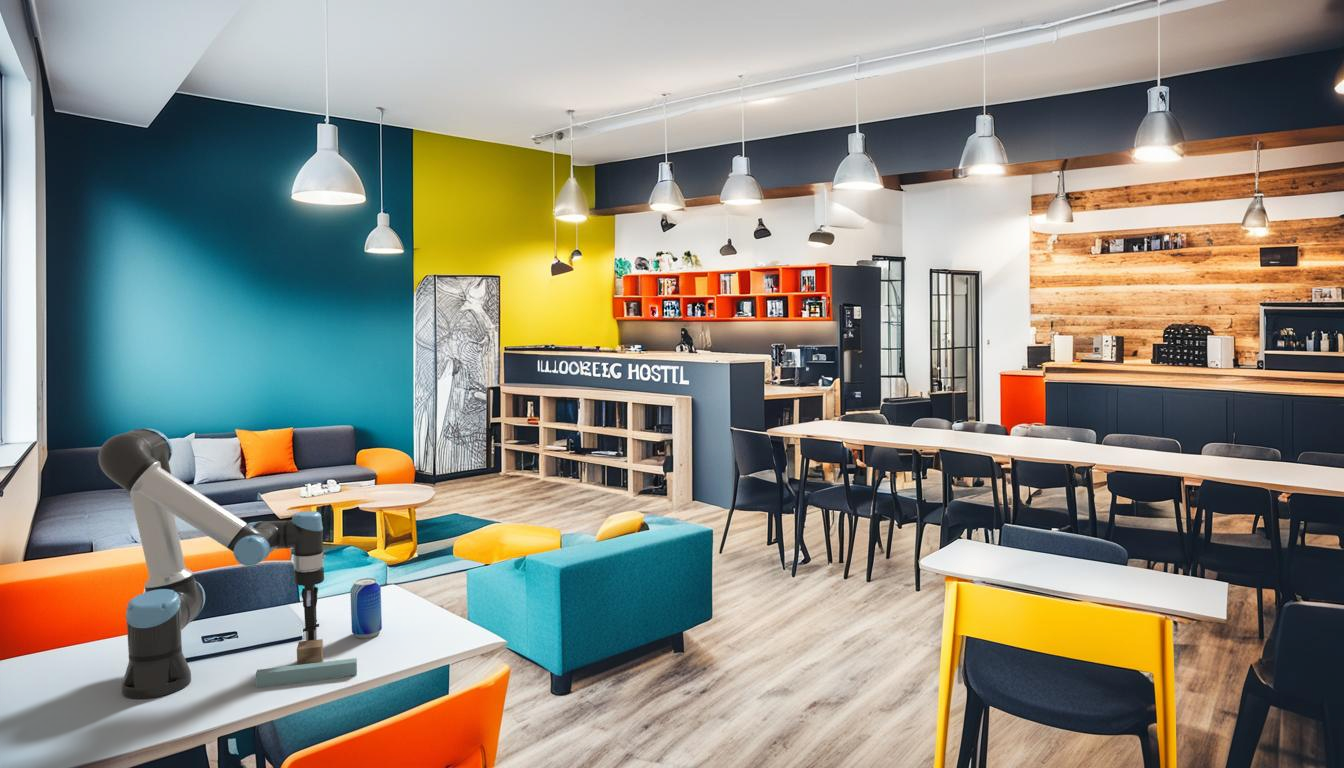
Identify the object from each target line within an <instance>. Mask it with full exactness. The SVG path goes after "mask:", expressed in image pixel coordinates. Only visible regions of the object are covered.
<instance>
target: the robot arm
mask: <svg viewBox="0 0 1344 768" xmlns="http://www.w3.org/2000/svg"><path fill="white" fill-rule="evenodd" d="M172 455H173V445H172V443H171V441H170V439H169V438H168V437H167V436H166V435H165V434H164V433H163V432H161V431H159V430H157V429H154V428H136V429H132V430H130V431H127V432H124V433H119V434H116V435H114V436H112V437H110V438H109V439H107V440H106V441H105V442H104V443H103V444H102V446H101V447H100V450H99V452H98V456H97V457H98V464H99V467H100V469H101V471H102V472H103V473H104V475H105V476H107V478H109V479H110V480H111V481H113V483H115V484H116V485H118V486H120V487H121V488H122V489H125V490H126V491H128V492H129V494H130V498H131V499H130V500H131V502H132V507H133V513H134V516H135V521H136V525H137V529H138V533H139V538H140V542H141V546H142V550H143V555H144V559H145V565H146V568H147V573H148V575H149V576H148V579H147V580H146V582H145V583H144V589H145V592H144V593H139V594H138V595H136V596H134V597H133V598H131V599H130V600H129V601H128V603H127V605H126V611H125V620H126V631H127V649H128V650H127V651H128V663H127V667H126V671H125V673H124V677H123V679H122V683H121V689H122V690H121V693H122V695H123V696H124V697H126V698H130V699H151V698H157V697H162V696H166V695H169V694H172V693H176V692H177V691H180V690H182V689H185V687H187V686H188V685H189V684H190V683H191V682H192V673H191V669H190V667H189V665H188V663H187V660H186V658H185V656H184V653H183V649H182V648H183V647H182V646H183V645H182V644H183V643H182V630H184V628H186V627H187V626H188V625H189V624H190V623H192V622H193V621H194V620H196V619H197V617H198V616H199V615H200V613H201V612H202V610H203V608H204V606H205V603H206V593H205V590H204V588H203V586H202V585H201V583H200V582H197V580H196V578H195V574H194V571H193V570H190V569H189V568H187V567H186V564H185V560H184V555H183V550H182V545H181V542H180V541H181V540H180V536H179V533H178V532H179V531H178V528H177V524H176V519H175V517H177V518H179V519H180V520H182V521H184V522H185V523H186V524H188V525H190V526H192V527H193V528H195V529H196V530H198V531H199V532H201V533H203V535H206V536H208V537H209V538H211V539H212V540H213V541H215V542H217V543H218V544H220V545H221V546H222V547H223V546H224V547H225V548H227V549H228V550H229V551H232V552H233V556H234V559H235V560H236V562H237V563H239V564H240V565H243V566H245V567H251V566H255V565H258V564H260V563H261V562H263V561H264V560H265V559H267V558H268V556H269V555H270V554H272V553H273V551H275V550H282V549H283V550H286V549H293V555H292V556H293V569H294V572H293V573H294V574H293V575H294V584H295V585H296V586H302V587H304V588H302V591H301V598H302V606H303V611H304V613H303V614H304V627H305V628H302V632H305V641H309V640H318V631H317V630H318V628H319V627H320V623H317V622H318V620H317V605H318V604H317V603H318V593H319V586H316V585H318V584H321V583H323V582H324V580H325V569H324V567H323V566H324V559H326V554H324V539H323V538H324V527H323V521H322V514H321V513H320V512H318V511H315V510H306V511H305V510H304V511H300V512H295V513H294V514H293V515H292V516H291V520H271V521H267V520H266V521H263V520H260V521H252V522H246V521H244V520H243V519H242V518H239V517H238V516H236V515H235V514H234V513H232V512H230V511H229V510H227V509H226V508H224V507H223V506H221V505H220V504H218V503H216V502H214V500H212V499H211V498H209V497H207V496H206V495H204V494H202V493H200V492H199V491H197V490H196V489H194V488H193V487H191V486H190V485H188V484H187V483H185V482H183V481H182V480H181V479H179V478H178V477H176V476H175V475H173V474H172V471H171V468H170V467H171V466H170V461H171V458H172Z"/></svg>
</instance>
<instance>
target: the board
mask: <svg viewBox="0 0 1344 768" xmlns="http://www.w3.org/2000/svg"><path fill="white" fill-rule="evenodd" d="M357 661H358V658H357V657H355V658H353V657H352V658H345V659H338V660H328V661H323V662H319V663H311V664H302V665H297V664H296V665H286V666H279V667H277V666H276V667H269V668H268V667H267V668H261V669H260V668H259V669H256V672H255V688H265V687H273V686H274V687H275V686H280V685H289V684H297V683H305V682H313V681H321V680H322V679H323V680H328V679H327V678H331V679H336V678H335V677H339V678H344V677H343V676H347V677H352V676H351V675H355V676H357V675H358V666H357V665H358V662H357Z"/></svg>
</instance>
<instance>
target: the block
mask: <svg viewBox="0 0 1344 768" xmlns="http://www.w3.org/2000/svg"><path fill="white" fill-rule="evenodd" d="M323 642H324V641H323V638H321V639H319V638H317V640H309V641H306V640H301V641H298V642H297V643H298V644H297V646H296V665H302V664H311V663H319V662H324V645H323V644H324V643H323Z"/></svg>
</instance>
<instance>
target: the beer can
mask: <svg viewBox="0 0 1344 768" xmlns="http://www.w3.org/2000/svg"><path fill="white" fill-rule="evenodd" d="M381 593H382V589H381V585H380V584H379V582H378V580H377V578H374V577H363V578H359V579H356V580H354V581H353V584H352V587H351V588H350V615H351V617H350V618H351V622H350V623H351V633H352V634H353V635H354V637H355V638H357V639H370V638H374V637H376V636H378V635H379V634H380V632H381V630H382V629H383V624H382V620H383V619H382V594H381Z"/></svg>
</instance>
